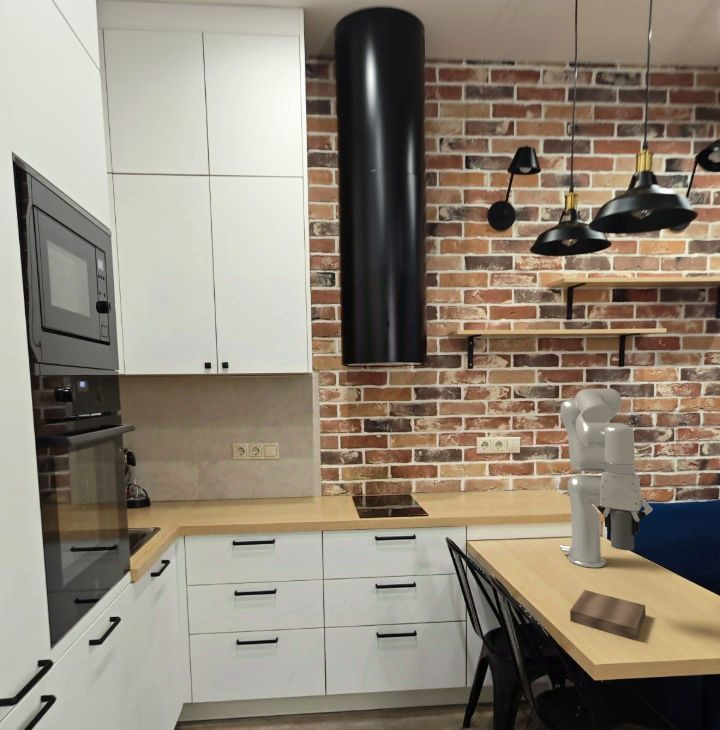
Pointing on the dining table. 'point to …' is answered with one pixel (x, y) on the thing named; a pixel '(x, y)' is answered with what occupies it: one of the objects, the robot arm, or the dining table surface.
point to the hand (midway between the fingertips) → (622, 531)
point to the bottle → (621, 529)
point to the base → (609, 614)
